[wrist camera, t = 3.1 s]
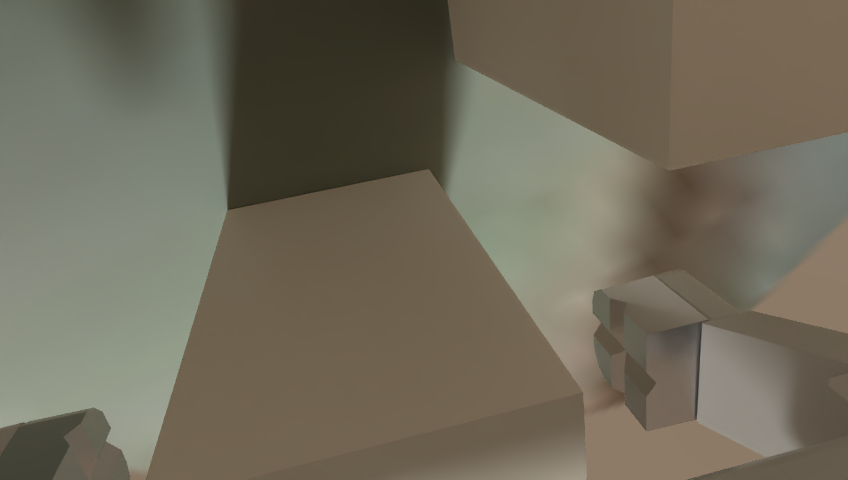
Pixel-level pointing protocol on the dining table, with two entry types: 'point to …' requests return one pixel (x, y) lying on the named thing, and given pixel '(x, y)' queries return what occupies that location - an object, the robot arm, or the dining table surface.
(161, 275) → the dining table surface
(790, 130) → the domino
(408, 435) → the domino
